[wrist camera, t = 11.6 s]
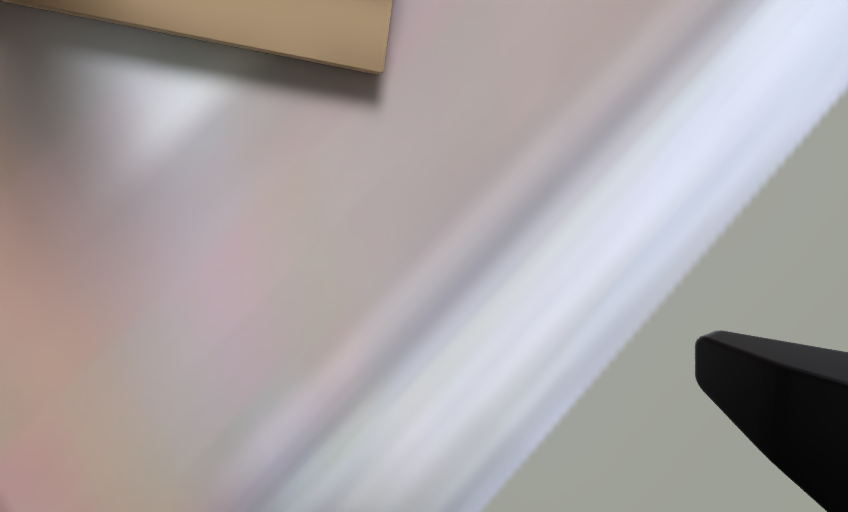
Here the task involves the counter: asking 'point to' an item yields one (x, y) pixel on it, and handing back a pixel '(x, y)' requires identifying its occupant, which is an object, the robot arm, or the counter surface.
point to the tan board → (256, 25)
